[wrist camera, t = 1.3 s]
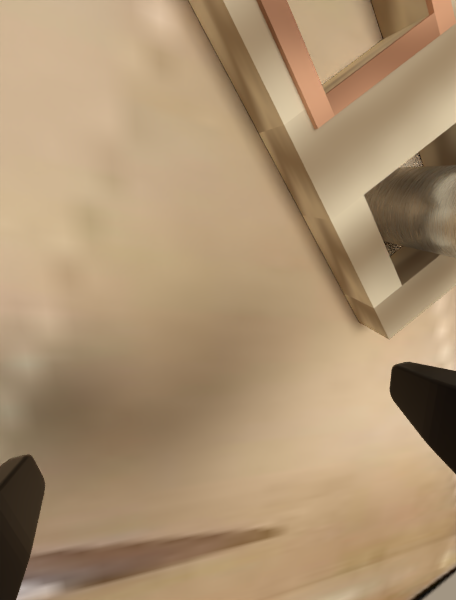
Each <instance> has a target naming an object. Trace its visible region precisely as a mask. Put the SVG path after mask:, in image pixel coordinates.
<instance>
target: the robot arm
mask: <svg viewBox="0 0 456 600" xmlns="http://www.w3.org/2000/svg"><path fill="white" fill-rule="evenodd" d="M390 394H391V397H392V399H393V401H394V402H395V403H396V405H397V406H398V407H399V408H400V410H401V411H402V412H403V414H404V415H405V416H406V417H407V419H408V420H409V421H410V423H411V424H412V425H413V426H414V428H415V429H416V430H417V432H418V433H419V434H420V435H421V437H422V438H423V439H424V440H425V441H426V443H427V444H428V445H429V446H430V447H431V448H432V449H433V451H434V452H435V453H436V454H437V455H438V456H439V457H440V458H441V459H442V460H443V461H444V462H445V463H446V464H447V465H448V466H449V467H450V469H451V470H452V471H453V472H454V473H455V474H456V371H453V370H448V369H443V368H438V367H433V366H427V365H422V364H417V363H412V362H404V363H400V364H396V365H394V366H393V367H392V371H391V382H390ZM44 491H45V482H44V478H43V476H42V474H41V472H40V470H39V468H38V466H37V464H36V462H35V460H34V459H33V457H32V456H31V455H23V456H19V457H14V458H11V459H9V460H8V461H7V462H5V463H4V464H3V465H1V466H0V600H16V598H17V595H18V592H19V589H20V586H21V583H22V580H23V577H24V574H25V571H26V568H27V564H28V561H29V558H30V554H31V550H32V546H33V542H34V537H35V532H36V528H37V523H38V519H39V514H40V510H41V505H42V500H43V496H44Z"/></svg>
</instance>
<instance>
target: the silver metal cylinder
mask: <svg viewBox="0 0 456 600" xmlns="http://www.w3.org/2000/svg"><path fill="white" fill-rule="evenodd" d="M364 197H365V199H366V201H367V204H368V206H369V208H370V211H371V213H372V216H373V218H374V220H375V223H376V225H377V227H378V230H379V232H380V235H381V237H382V239H383V242H388V243H392V244H397V245H401V246H405V247H410V248H414V249H418V250H423V251H427V252H432V253H436V254H440V255H445V256H449V257H454V258H456V165H449V166H426V167H403V168H397V169H396V170H395V171H394V172H392V173H391V174H390V175H388V176H387V177H386V178H385V179H383V180H382V181H381V182H379V183H378V184H377V185H376V186H374V187H373V188H372V189H371V190H369V191H368V192H367V193H365V194H364Z"/></svg>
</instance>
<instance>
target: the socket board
mask: <svg viewBox="0 0 456 600" xmlns="http://www.w3.org/2000/svg"><path fill="white" fill-rule="evenodd" d="M188 1H189V3H190V4H191V6H192V8H193V10H194V12H195V14H196V16H197V18H198V19H199V21H200V23H201V25H202V27H203V29H204V31H205V33H206V35H207V36H208V38H209V40H210V42H211V44H212V46H213V48H214V50H215V52H216V53H217V55H218V57H219V59H220V61H221V63H222V65H223V67H224V68H225V70H226V72H227V74H228V76H229V78H230V80H231V82H232V84H233V85H234V87H235V89H236V91H237V93H238V95H239V97H240V99H241V101H242V102H243V104H244V106H245V108H246V110H247V112H248V114H249V116H250V118H251V119H252V121H253V123H254V125H255V127H256V129H257V131H258V133H259V134H260V136H261V138H262V140H263V142H264V144H265V146H266V148H267V150H268V151H269V153H270V155H271V157H272V159H273V161H274V163H275V165H276V167H277V168H278V170H279V172H280V174H281V176H282V178H283V180H284V182H285V183H286V185H287V187H288V189H289V191H290V193H291V195H292V197H293V199H294V200H295V202H296V204H297V206H298V208H299V210H300V212H301V214H302V216H303V217H304V219H305V221H306V223H307V225H308V227H309V229H310V231H311V232H312V234H313V236H314V238H315V240H316V242H317V244H318V246H319V248H320V249H321V251H322V253H323V255H324V257H325V259H326V261H327V263H328V265H329V266H330V268H331V270H332V272H333V274H334V276H335V278H336V280H337V282H338V283H339V285H340V287H341V289H342V291H343V293H344V295H345V297H346V298H347V300H348V302H349V304H350V306H351V308H352V310H353V312H354V314H355V315H356V317H357V319H358V321H359V322H360V323H362V324H363V325H365V326H367V327H368V328H370V329H372V330H374V331H375V332H377V333H379V334H381V335H382V336H384V337H386V338H387V339H391V338H392V337H393V336H394V335H395V334H397V333H398V332H399V331H400V330H402V329H403V328H404V327H405V326H407V325H408V324H409V323H410V322H411V321H413V320H414V319H415V318H416V317H418V316H419V315H420V314H421V313H423V312H424V311H425V310H426V309H427V308H429V307H430V306H431V305H432V304H434V303H435V302H436V301H437V300H438V299H440V298H441V297H442V296H443V295H445V294H446V293H447V292H448V291H450V290H451V289H452V288H453V287H454V286H456V258H454V257H449V256H445V255H440V254H436V253H432V252H427V251H423V250H418V249H414V248H410V247H405V246H403V247H401V248H400V249H399V250H398V251H396V252H395V253H394V254H393V255H391V256H389V254H388V251H387V249H386V246H385V244H384V242H383V239H382V237H381V235H380V232H379V230H378V227H377V225H376V223H375V220H374V218H373V216H372V213H371V211H370V208H369V206H368V204H367V201H366V199H365V197H364V194H365V193H367V192H368V191H369V190H371V189H372V188H373V187H374V186H376V185H377V184H378V183H379V182H381V181H382V180H383V179H385V178H386V177H387V176H388V175H390V174H391V173H392V172H394V171H395V170H396V169H397V168H399V167H400V166H401V165H402V164H404V163H405V162H406V161H408V160H409V159H410V158H411V157H413V156H414V155H415V154H417V153H418V152H419V153H420V156H421V159H422V163H423V166H424V167H426V166H449V165H456V0H371V2H372V5H373V8H374V11H375V14H376V17H377V21H378V24H379V27H380V30H381V33H382V36H383V40H381V41H380V42H379V43H377V44H376V45H375V46H373V47H372V48H371V49H369V50H368V51H367V52H365V53H364V54H363V55H362V56H360V57H359V58H358V59H356V60H355V61H354V62H352V63H351V64H350V65H348V66H347V67H346V68H344V69H343V70H342V71H340V72H339V73H338V74H336V75H335V76H334V77H332V78H331V79H330V80H328V81H327V82H326V83H324V84H323V85H322V84H321V82H320V79H319V77H318V75H317V72H316V70H315V67H314V65H313V62H312V60H311V58H310V55H309V53H308V50H307V48H306V46H305V43H304V41H303V38H302V36H301V34H300V31H299V29H298V26H297V24H296V22H295V19H294V17H293V14H292V12H291V10H290V7H289V5H288V2H287V0H188Z"/></svg>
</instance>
